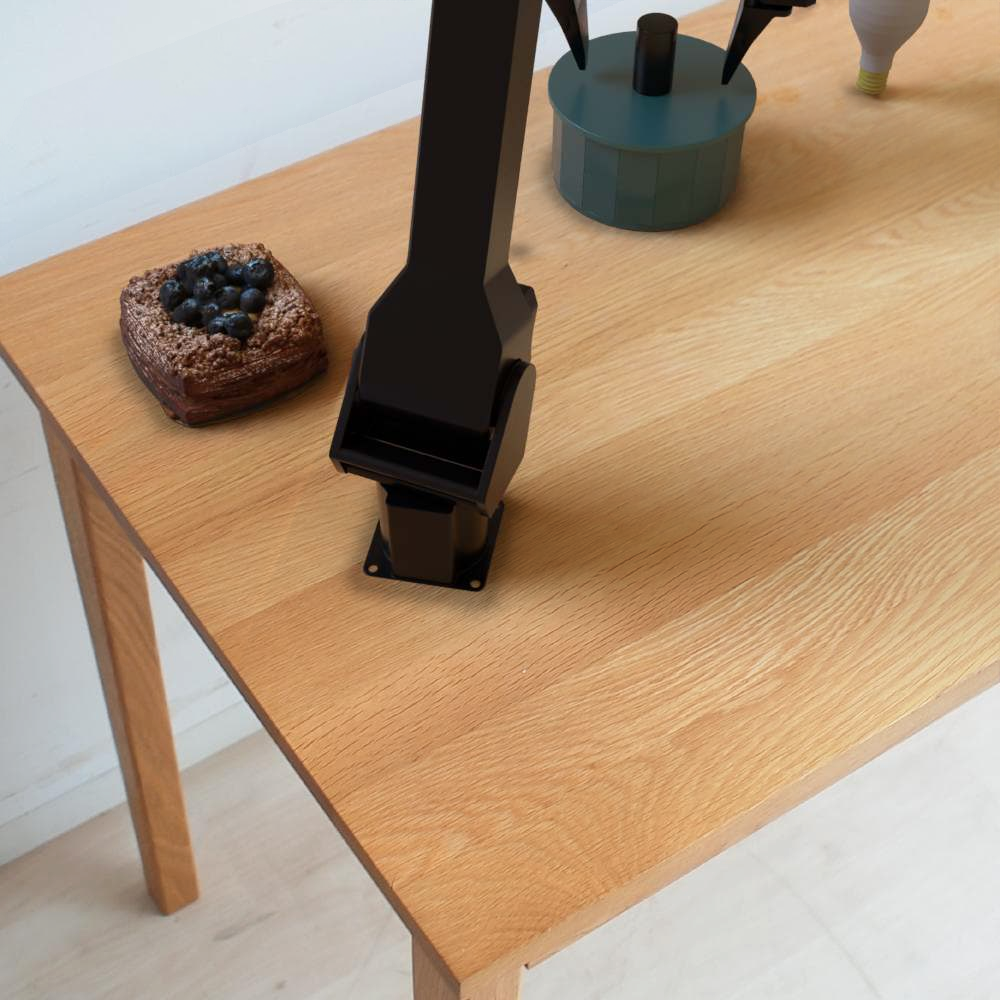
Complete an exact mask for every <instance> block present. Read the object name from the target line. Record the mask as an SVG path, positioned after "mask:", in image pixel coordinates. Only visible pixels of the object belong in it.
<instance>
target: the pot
mask: <svg viewBox="0 0 1000 1000" xmlns="http://www.w3.org/2000/svg"><path fill="white" fill-rule="evenodd" d="M552 110H553V109H552ZM552 112H553V114H552V115H553V116H552V141H551V142H552V146H551V147H552V148H551V170H552V175H553V178H552V179H553V181H554V184H555V187H556V189H557V191H558V194H559V195H560V196H561V197H562V198H563V199H564V200H565V201H566V203H567V204H568V205H570V206H571V208H573V209H574V210H576V211H577V212H579V213H580V214H582V215H583V216H586V217H587V218H590V219H592V220H594V221H596V222H598V223H601V224H604V225H606V226H610V227H613V228H614V227H615V228H618V229H624V230H629V231H638V232H662V231H663V232H664V231H672V230H677V229H678V230H679V229H684V228H687V227H691V226H694V225H696V224H698V223H701V222H705V221H706V220H708V219H709V218H711V217H713V216H714V215H716V214H717V213H719V212H721V210H723V208H724V207H726V205H727V204H728V203H729V202H730V200H731V199H732V198H733V195H734V193H735V192H736V189H737V184H738V176H739V171H740V163H741V156H742V149H743V143H744V138H745V137H744V136H745V130H746V124H745V125H744V126H743V127H742V128H741V129H739V130H738V131H737V132H736V133H734V134H733V135H731V136H730V137H728V138H726V139H724V140H722V141H720V142H718V143H715V144H712V145H709V146H707V147H703V148H699V149H695V150H689V151H683V152H674V153H644V152H635V151H628V150H622V149H618V148H614V147H610V146H607V145H604V144H601V143H598V142H596V141H593V140H591V139H588V138H586V137H585V136H583V135H581V134H579V133H577V132H576V131H574V130H573V129H571V128H570V127H569V126H567V125H566V124H565V123H564V122H563V121H562V120H561V119H560V118H559V117H558V115H557V114H556V113H555V112H554V110H553V111H552Z"/></svg>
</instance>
